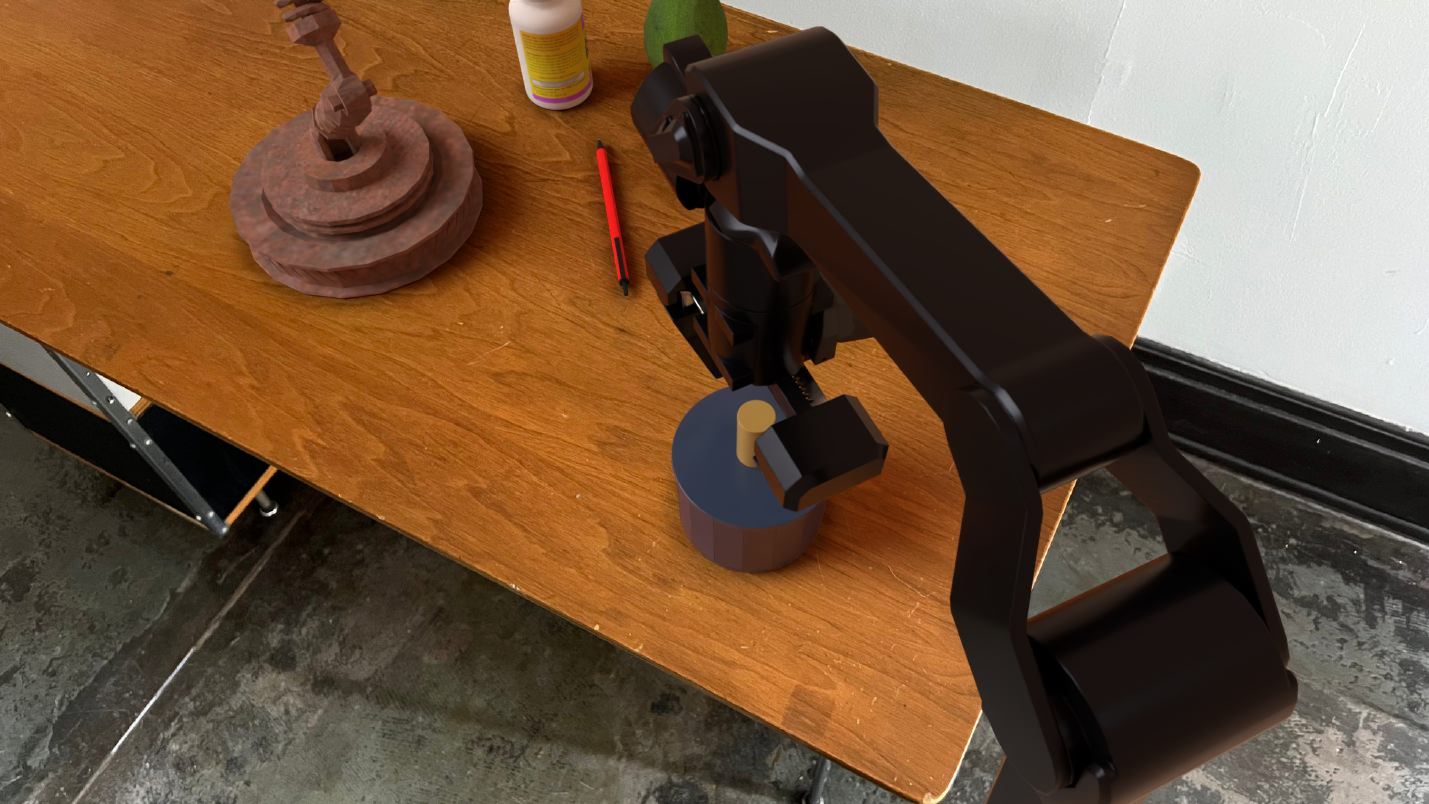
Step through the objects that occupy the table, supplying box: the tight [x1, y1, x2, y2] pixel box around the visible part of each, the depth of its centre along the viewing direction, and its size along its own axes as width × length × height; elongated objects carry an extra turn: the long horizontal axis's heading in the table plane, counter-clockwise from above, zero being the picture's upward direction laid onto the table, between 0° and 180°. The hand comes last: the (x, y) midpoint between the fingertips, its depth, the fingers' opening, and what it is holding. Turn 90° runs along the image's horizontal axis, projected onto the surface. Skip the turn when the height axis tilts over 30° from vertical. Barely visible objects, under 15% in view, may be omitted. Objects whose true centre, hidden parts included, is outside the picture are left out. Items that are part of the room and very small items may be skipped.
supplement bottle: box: [508, 0, 594, 111], centre depth 90 cm, size 7×7×13 cm
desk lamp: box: [228, 0, 484, 300], centre depth 71 cm, size 21×32×40 cm, turn 36°
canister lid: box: [670, 384, 821, 531], centre depth 62 cm, size 11×11×6 cm
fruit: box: [643, 0, 729, 69], centre depth 91 cm, size 8×8×12 cm
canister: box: [676, 483, 828, 574], centre depth 67 cm, size 10×10×8 cm
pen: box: [596, 138, 630, 297], centre depth 85 cm, size 1×19×1 cm, turn 10°
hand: (754, 428), depth 61 cm, fingers open, 9 cm apart
